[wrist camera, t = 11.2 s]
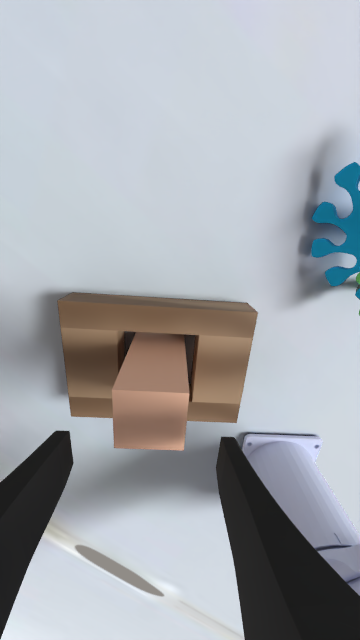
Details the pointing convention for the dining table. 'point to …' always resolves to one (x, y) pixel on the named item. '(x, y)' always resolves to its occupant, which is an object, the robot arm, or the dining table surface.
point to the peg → (152, 394)
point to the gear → (355, 226)
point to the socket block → (155, 317)
